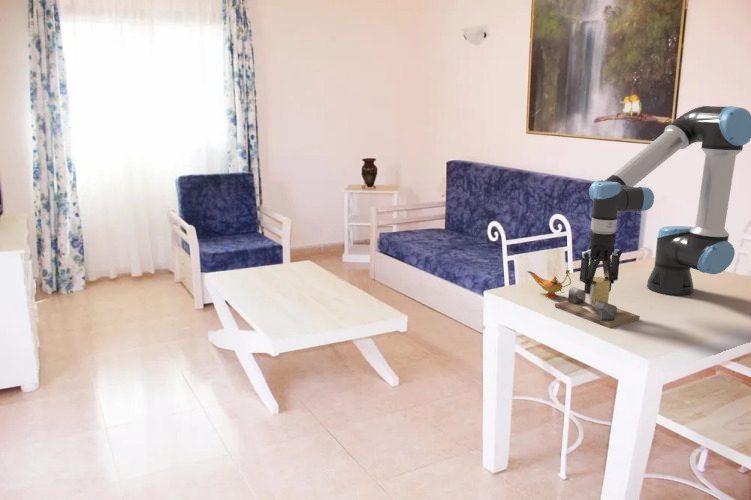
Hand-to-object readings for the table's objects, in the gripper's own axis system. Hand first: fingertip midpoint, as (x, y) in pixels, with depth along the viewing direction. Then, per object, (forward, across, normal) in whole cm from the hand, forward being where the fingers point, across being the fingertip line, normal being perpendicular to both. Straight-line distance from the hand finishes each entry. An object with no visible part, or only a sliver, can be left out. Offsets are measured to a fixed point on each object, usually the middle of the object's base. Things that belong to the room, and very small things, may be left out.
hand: (596, 302), depth 198 cm
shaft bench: (+4, 0, 0) cm, 4 cm away
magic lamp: (+4, -5, +21) cm, 22 cm away
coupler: (0, 0, 0) cm, 0 cm away
